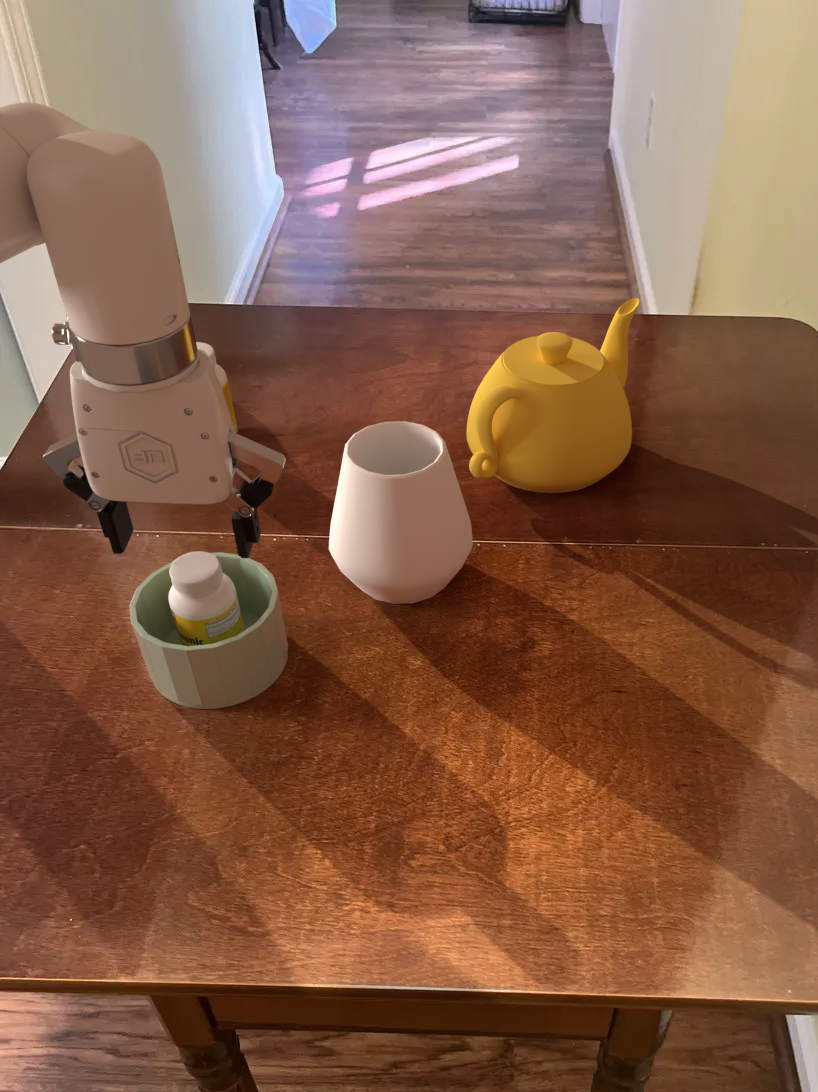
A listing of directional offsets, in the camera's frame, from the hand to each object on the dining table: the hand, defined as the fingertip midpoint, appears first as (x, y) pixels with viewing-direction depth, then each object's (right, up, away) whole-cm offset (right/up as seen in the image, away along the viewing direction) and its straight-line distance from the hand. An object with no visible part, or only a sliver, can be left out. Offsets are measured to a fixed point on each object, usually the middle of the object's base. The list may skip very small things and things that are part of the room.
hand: (185, 544), depth 77 cm
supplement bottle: (0, -9, +8) cm, 12 cm away
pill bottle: (-7, +14, +32) cm, 36 cm away
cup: (+16, -1, +17) cm, 23 cm away
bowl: (0, -9, +9) cm, 13 cm away
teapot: (+31, +13, +32) cm, 47 cm away
